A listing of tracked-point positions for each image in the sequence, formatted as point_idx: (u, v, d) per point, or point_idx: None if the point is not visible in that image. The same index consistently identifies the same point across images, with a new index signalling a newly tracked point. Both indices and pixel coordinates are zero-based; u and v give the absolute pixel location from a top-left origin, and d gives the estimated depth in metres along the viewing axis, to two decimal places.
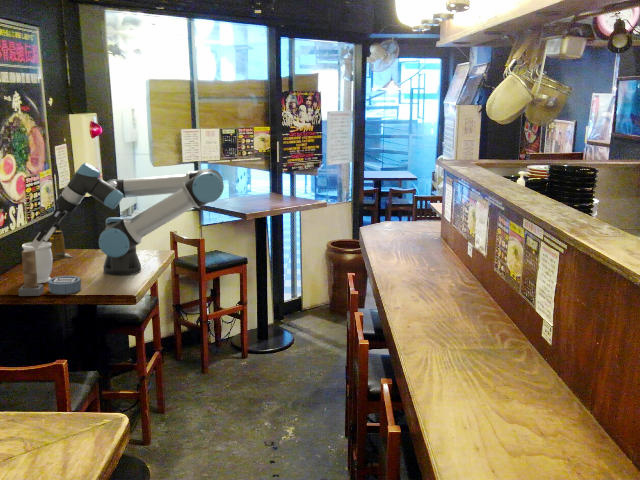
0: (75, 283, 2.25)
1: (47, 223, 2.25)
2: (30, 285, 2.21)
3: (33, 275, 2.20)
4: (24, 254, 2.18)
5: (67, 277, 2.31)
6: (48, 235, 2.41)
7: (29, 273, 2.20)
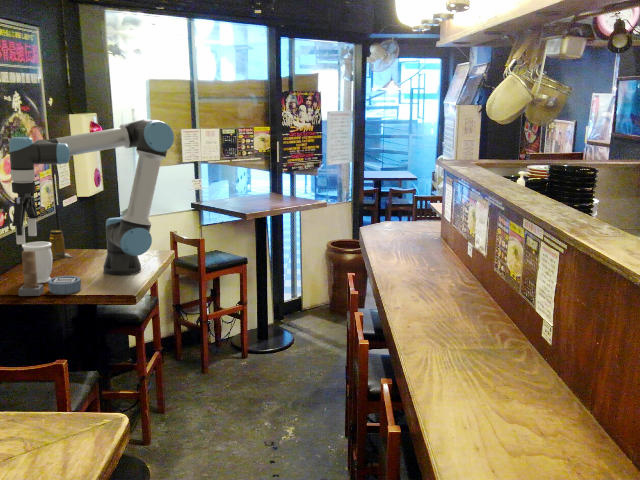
0: (75, 283, 2.25)
1: (15, 213, 2.08)
2: (30, 285, 2.21)
3: (33, 275, 2.20)
4: (24, 254, 2.18)
5: (67, 277, 2.31)
6: (34, 229, 2.24)
7: (29, 273, 2.20)
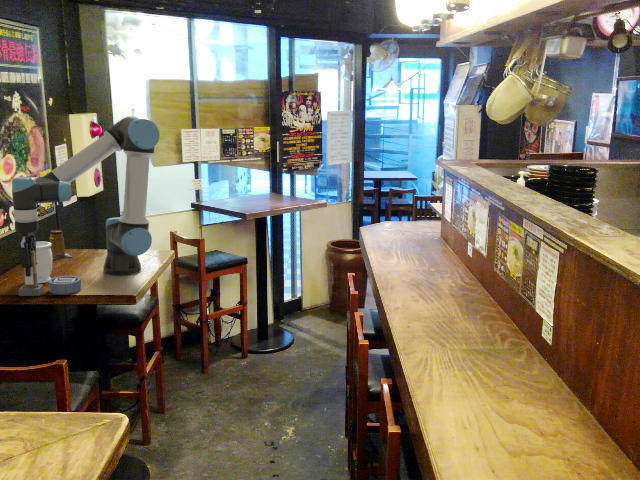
0: (75, 283, 2.25)
1: (22, 257, 2.14)
2: (30, 285, 2.21)
3: (33, 275, 2.20)
4: None
5: (67, 277, 2.31)
6: None
7: None
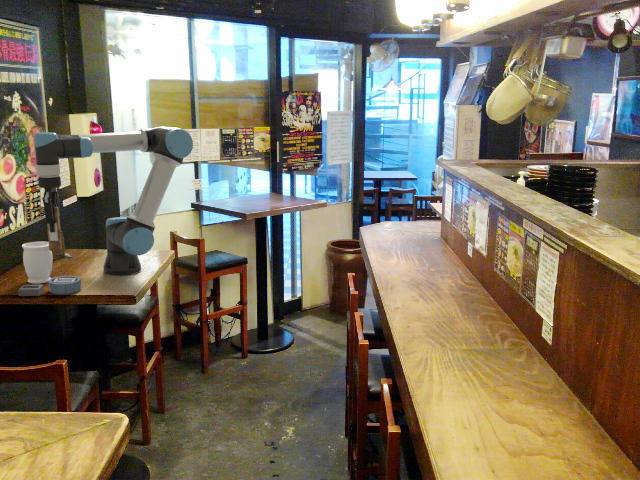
0: (75, 283, 2.25)
1: (46, 212, 2.15)
2: (54, 241, 2.22)
3: (57, 231, 2.21)
4: None
5: (67, 277, 2.31)
6: None
7: None
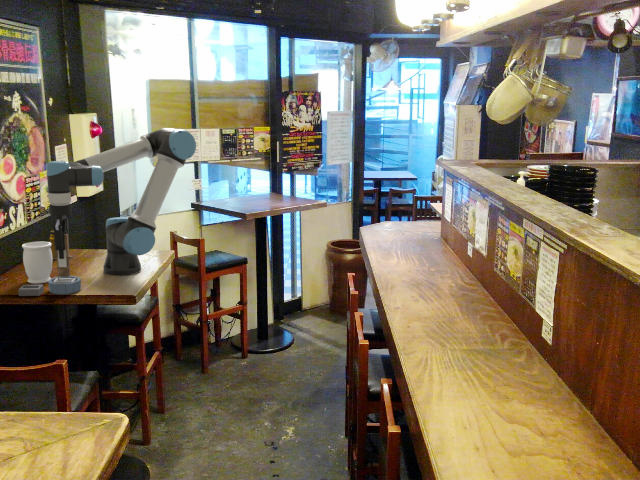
0: (75, 283, 2.25)
1: (56, 240, 2.18)
2: (63, 267, 2.25)
3: (66, 258, 2.24)
4: None
5: (67, 277, 2.31)
6: None
7: None
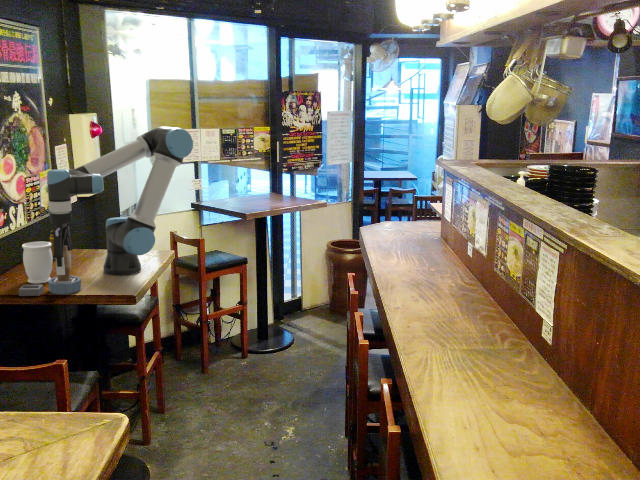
0: (75, 283, 2.25)
1: (55, 246, 2.17)
2: (64, 279, 2.26)
3: (66, 269, 2.25)
4: None
5: None
6: None
7: None
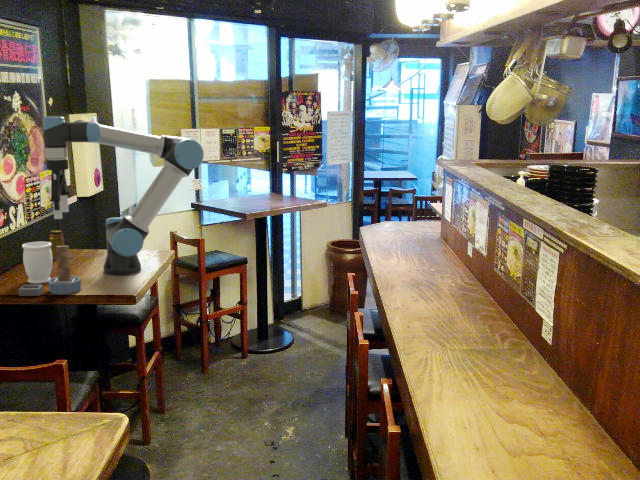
0: (75, 283, 2.25)
1: (53, 189, 2.17)
2: (64, 279, 2.26)
3: (67, 269, 2.25)
4: (58, 248, 2.23)
5: None
6: (66, 205, 2.34)
7: (63, 267, 2.25)
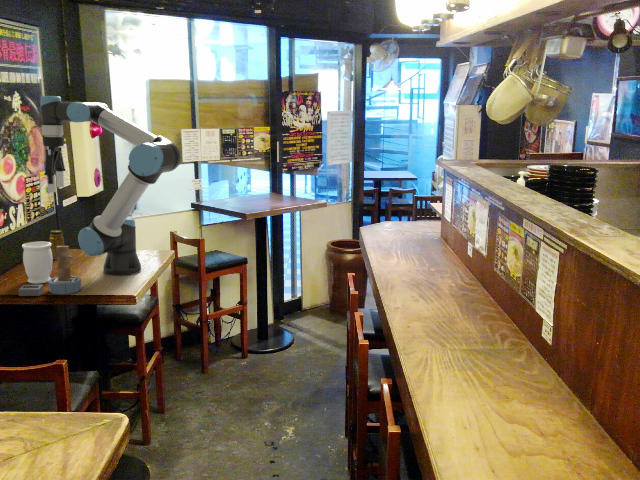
0: (75, 283, 2.25)
1: (47, 163, 2.31)
2: (64, 279, 2.26)
3: (67, 269, 2.25)
4: (58, 249, 2.23)
5: None
6: (61, 181, 2.48)
7: (63, 267, 2.25)
